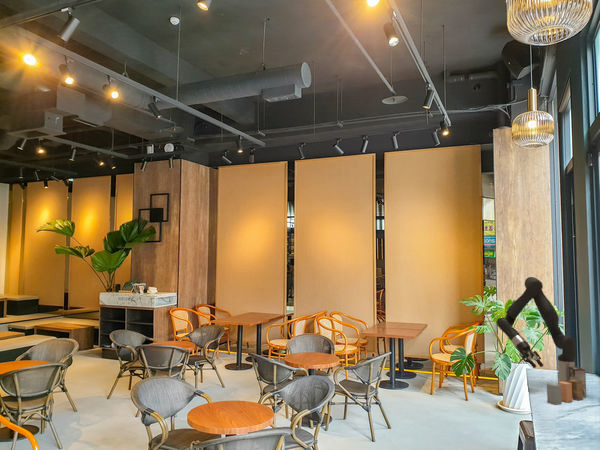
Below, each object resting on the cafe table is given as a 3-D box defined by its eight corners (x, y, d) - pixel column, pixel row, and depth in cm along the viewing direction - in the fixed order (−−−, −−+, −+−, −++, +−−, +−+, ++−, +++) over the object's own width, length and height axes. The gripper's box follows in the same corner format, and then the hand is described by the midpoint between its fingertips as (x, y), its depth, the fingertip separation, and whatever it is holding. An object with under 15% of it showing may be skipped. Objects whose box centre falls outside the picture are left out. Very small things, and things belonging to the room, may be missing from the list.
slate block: (547, 402, 256) (546, 383, 257) (553, 401, 258) (552, 383, 260) (555, 404, 252) (555, 385, 253) (561, 403, 254) (560, 385, 255)
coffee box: (569, 393, 277) (568, 366, 279) (581, 393, 276) (579, 366, 278) (575, 397, 268) (574, 369, 270) (587, 397, 267) (585, 369, 269)
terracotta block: (558, 400, 261) (557, 382, 262) (563, 399, 263) (563, 381, 264) (567, 402, 256) (566, 384, 257) (572, 401, 259) (571, 383, 260)
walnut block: (569, 398, 265) (568, 380, 266) (574, 397, 268) (573, 379, 269) (577, 400, 261) (576, 382, 262) (582, 399, 263) (581, 381, 264)
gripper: (516, 341, 282) (534, 364, 270) (531, 339, 288) (550, 362, 277) (509, 348, 286) (527, 371, 274) (524, 347, 292) (542, 369, 281)
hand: (538, 366), depth 275 cm, fingers open, 6 cm apart
